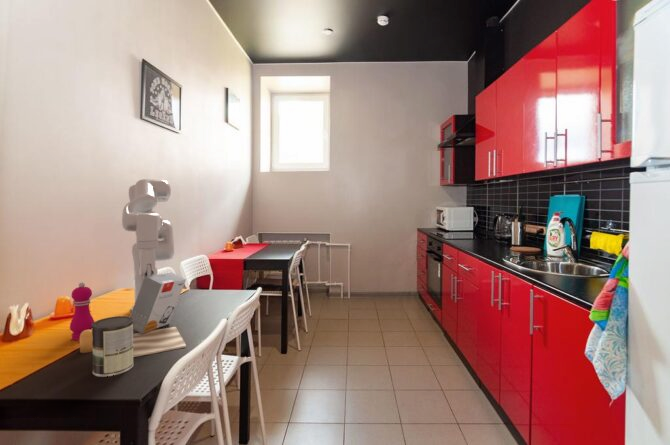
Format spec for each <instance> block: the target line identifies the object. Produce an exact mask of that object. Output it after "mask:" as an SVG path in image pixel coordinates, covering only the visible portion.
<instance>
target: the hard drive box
mask: <svg viewBox="0 0 670 445" xmlns="http://www.w3.org/2000/svg"><path fill="white" fill-rule="evenodd" d="M186 281H187V279H186V278H184V277H182V276H180V275H178V274H176V273H174V272H166V273H158V275H152V276H146V277H145V278H144V280H143V283H142V286H141V289H140V291H139V294H138V297H137V299H136V302H135V301H134V305H133V306H134V307H133V310H131V313H130V315H129V317H132V318H133V331H137V333H139V332H140V333H145V332H149V331H152V330H157V329H160V328H161V327H165V326H167V325H169V324H170V323H171V321H172V318H173V315H174V313H175V310H176V307H177V305H178V301H179V299H180V297H181V294H182V292H183V289H184V286H185V284H186Z"/></svg>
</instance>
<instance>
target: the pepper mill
mask: <svg viewBox="0 0 670 445" xmlns="http://www.w3.org/2000/svg"><path fill="white" fill-rule="evenodd" d="M92 295H93V291H92V289H91V288H90V287H88V286H86V284H85V283H84V282H80V283H78V287H75V288H74V289H73V290H72V292H71V298H72V300H74V301H73V304H72V305H73V306H74V314H73V317H72V318H71V321H70V324H69V330H71V331H72V333H71V340H73V341H80V335H81V333H82V332H83V331H84V330H87V329H90V330H92V323H94V322H95V320H94V318H93V316H92V314H91V313H90V304H91V299H90V298H91V297H92Z"/></svg>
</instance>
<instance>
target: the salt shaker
mask: <svg viewBox="0 0 670 445" xmlns="http://www.w3.org/2000/svg"><path fill="white" fill-rule="evenodd" d="M79 352H80V353H81V354H85V353H90V352H93V345H92V329H91V330H90V329H87V330H84V331H83V332H82V333H81V335H80V340H79Z"/></svg>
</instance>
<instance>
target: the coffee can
mask: <svg viewBox="0 0 670 445" xmlns="http://www.w3.org/2000/svg"><path fill="white" fill-rule="evenodd" d="M91 330H92V345H93V351H92V375H94V376H95V377H100V378H104V377H105V378H107V376H108V377H113V375H114V376H119V375H121V374H123V373H126V372H128V371H130V370H131V369H132V368H133V367H134V357H133V333H134V329H133V318H132V317H130V316H128V315H127V316H125V315H124V316H123V315H119V316H111V317H110V316H109V317H106V318H101V319H98V320H96V321H94V323H92V329H91Z"/></svg>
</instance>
